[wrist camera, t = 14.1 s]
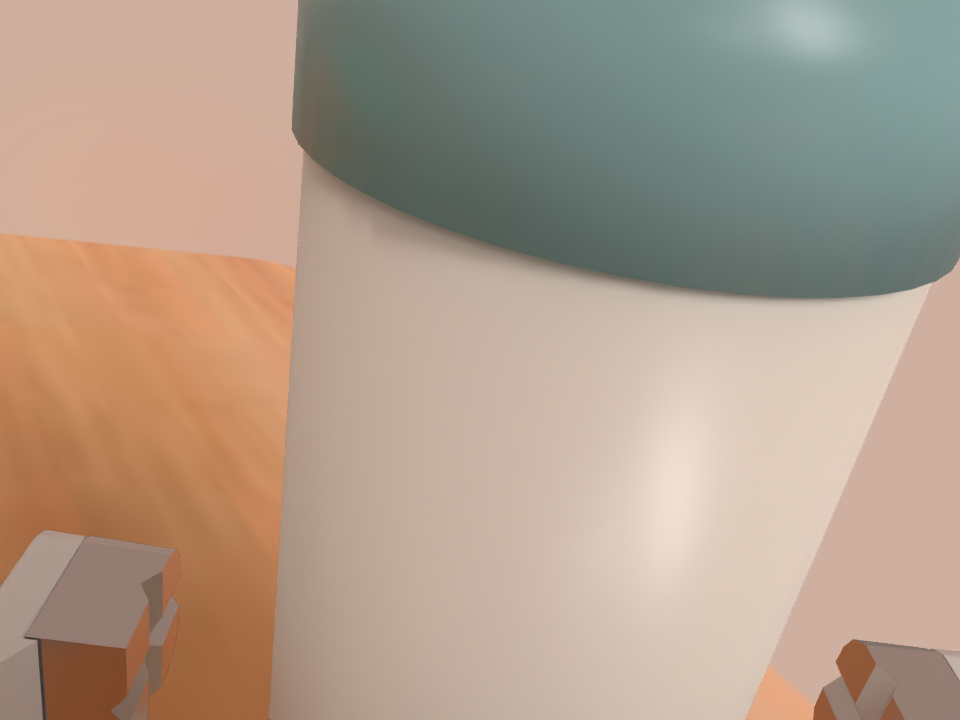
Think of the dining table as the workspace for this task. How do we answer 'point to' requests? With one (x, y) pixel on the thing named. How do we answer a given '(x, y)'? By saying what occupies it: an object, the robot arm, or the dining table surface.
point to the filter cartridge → (591, 338)
